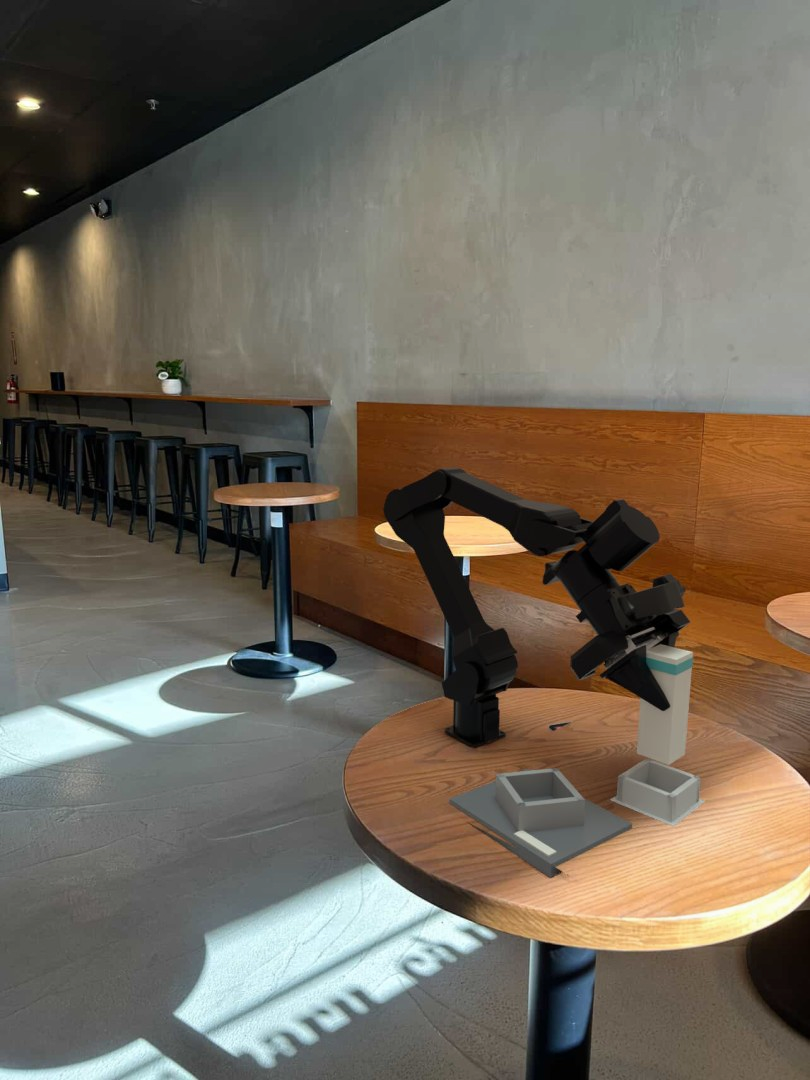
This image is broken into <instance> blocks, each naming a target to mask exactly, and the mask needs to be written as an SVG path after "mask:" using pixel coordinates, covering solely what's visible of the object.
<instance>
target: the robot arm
mask: <svg viewBox="0 0 810 1080" xmlns="http://www.w3.org/2000/svg"><path fill="white" fill-rule="evenodd" d="M453 503H455V504H456V505H459V506H461V507H462V508H464V509H466V510H468V511H471V512H472V513H473V514H474V513H475V514H476V515H478V516H481V517H483V518H484V519H486V520H488V521H490V522H493V523H494V524H497V525H499V526H501V527H502V528H504V529H505V530H507V531H508V532H509V534H510V536H511V537H512V539H513V540H514V542H516V543H517V544H518V545H520V546H521V547H522V548H524V549H525V550H526V551H527V552H529V553H531V554H532V555H534V556H537V557H545V556H550V555H554V554H559V553H564V552H566V553H565V554H563V556H561V557H560V558H559V559H558V560H557V561H556V560H554V561H549V562H545V564H544V574H543V576H542V580H541V581H542V584H543V585H544V586H548V585H551V584H554V583H559V582H560V583H561V585H562V586H563V588H564V589H565V591H566V592H567V593H568V595H569V596H570V598H571V599H572V600H573V602H574V604H575V605H576V607H577V608H578V609H579V611H580V612H578V613H577V614H576V615H575V617H576V619H577V620H578V622H579V623H581V624H582V623H584V622H588V624H589V625H590V627H591V628H592V630H593V631H594V632H595V634H596V635H595V636H594V637H593V638H591V639H590V640H589V641H588V642H586V643H585V644H584V645H583V646H582V647H580V648H579V649H578V650H576V651H575V652H574V653H573V654H572V655H570V661H569V662H570V663H569V667H570V669H571V671H572V672H573V673H574V675H575V676H576V678H577V679H578V681H582V680H585V679H587V678H589V677H592V676H593V675H594V674H595V673H596V669H597V668H599V667H600V666H601V665H602V664H603V666H604V667H605V669H606V670H604V671H603V672H602V673H600V674H599V675H598V676H599V678H600V679H602V680H603V679H606V680H609V681H610V682H612V683H614V684H616V685H617V686H619V687H621V688H623V689H625V690H627V691H629V692H630V693H632V694H634V695H636V696H637V697H638V698H639V699H640V698H642V699H643V700H645V701H647V702H648V703H650V704H652V705H653V706H655V707H656V708H658V709H660V710H661V711H665V710H667V709H668V708H670V704H669V702H668V700H667V698H666V696H665V694H664V692H663V691H662V689H661V687H660V686H659V684H658V682H657V681H656V679H655V677H654V675H653V674H652V672H651V670H650V669H649V667H648V666H647V663H646V650H648V649H650V648H653V647H655V646H657V645H660V644H662V645H666V646H670V647H674V648H676V641H677V638H679V636H680V635H679V634H680V631H682V630H683V629H684V628H685V627H687V626H688V625H689V624H691V621H690V620H689V618H688V616H687V615H686V614H685V613H684V611H683V610H682V608H685V607H686V605H685V602H684V600H683V599H684V598H683V597H684V594H685V592H686V591H687V589H686V587H685V586H684V585H682V583H680V580H679V579H676V578H675V577H674V575H673V574H672V573H667V574H665V575H661V576H658V577H655V578H653V580H652V587H649V588H646V589H643V590H638V591H637V590H636V589H635V587H634V586H633V585H631V584H629V583H625V584H622V585H621V583H620V582H619V581H618V580H617V578H616V577H615V575H614V574H613V573H612V572H611V570H614V571H617V572H624V571H625V570H626V569H627V568H628V567H631V565H632V564H633V563H634V562H635V561H637V560H638V559H639V558H640V557H642V555H644V554H645V553H647V552H648V550H649V549H651V548H652V547H653V546H655V544H658V542H659V540H660V532H659V529H658V528H657V526H656V524H655V523H654V521H653V520H652V519H651V517H649V516H646V515H645V514H644V513H643V512H642V511H640V509H637V508H635V507H634V506H631V505H629V504H628V502H627V501H626V499H624V498H622V499H620V498H619V499H615V500H613V501H612V502H611V503H610V504H608V505H607V506H606V509H605V510H604V511H603V513H601V514H600V515H599V516H598V517H597V518H596V519H595V520H594V521H593V520H590V519H586V518H583V517H581V514H580V513H579V512H577V511H576V510H575V509H573V508H572V507H570V506H569V507H568V506H564V505H561V504H555V503H551V502H543V501H535V500H529V499H525V498H523V497H521V496H519V495H516V494H514V493H512V492H510V491H508V490H505V489H502V488H500V487H499V486H496V485H494V484H492V483H490V482H487V481H485V480H483V479H480V478H478V477H476V476H474V475H471V474H469V473H468V472H466V471H465V470H464V469H462V468H460V467H447V468H444V467H443V468H438V469H436V470H434V471H432V472H431V473H429V474H427V476H425V477H423V478H421V479H418V480H416V481H413V482H412V483H409V484H408V485H405V486H404V487H402V488H394V489H392V490H391V491H389V493H388V494H387V496H386V498H385V500H384V504H383V507H382V511H383V514H384V517H385V519H386V521H387V523H388V524H389V526H390V528H391V530H392V531H393V533H394V534H395V535H396V536H397V537H398V538H399V539H400V540H401V541H403V542H404V543H405V544H406V545H407V546H409V547H410V548H411V549H412V550H413V552H414V553H415V556H416V558H417V560H418V562H419V564H420V566H421V568H422V571H423V573H424V576H425V578H426V579H427V581H428V584H429V586H430V588H431V590H432V593H433V595H434V598H435V599H436V602H437V604H438V606H439V608H440V610H441V612H442V615H443V616H444V619H445V621H446V623H447V625H448V627H449V629H450V632H451V634H452V636H453V644H452V655H451V656H452V657H451V658H452V662H453V664H454V668H455V670H454V671H453V672H452V673H451V674H450V675H448V676H447V677H446V678H445V679H444V680H443V681H442V682H441V687H442V691H443V694H444V698H446V699H449V700H452V701H453V708H452V709H453V711H452V714H453V715H452V725H451V726H447V727H445V728H444V733H446V734H447V735H449V736H451V737H453V738H455V739H456V740H459V741H461V742H462V743H464V744H466V745H468V746H470V747H474V748H475V747H478V746H481V745H484V744H487V743H490V742H493V741H496V740H499V739H502V738H505V737H506V736H507V735H506V732H505V731H503V730H501V729H500V719H501V718H500V715H501V713H500V712H501V711H500V709H499V706H500V704H499V703H500V698H499V696H498V697H497V694H500V693H503V692H506V691H507V690H508V688H509V686H510V682H512V681H513V680H514V678H515V677H516V675H517V669H518V668H519V663H518V659H517V657H516V655H517V654H518V651H517V649H516V648H514V646H513V645H512V643H511V641H510V637H509V634H508V632H507V631H506V629H505V628H504V627H501V628H497V629H494V628H493V627H492V626H490V625H489V624H488V623H487V622H486V621H485V619H484V617H483V615H482V613H481V611H480V609H479V607H478V605H477V603H476V600H475V598H474V596H473V594H472V592H471V590H470V588H469V586H468V583H467V581H466V579H465V577H464V575H463V573H462V570H461V569H460V566H459V564H458V562H457V560H456V557H455V556H454V554H453V552H452V550H451V547H450V546H449V543H448V541H447V539H446V537H445V526H446V524H445V523H446V514H445V512H444V510H445V509H446V508H448V507H450V506H451V505H452V504H453ZM583 543H584V545H582V547H580V548H579V549H578V550H575V549H576V548H577V546H578V545H579V544H583ZM680 608H681V609H680Z"/></svg>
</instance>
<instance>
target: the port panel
mask: <svg viewBox="0 0 810 1080" xmlns="http://www.w3.org/2000/svg"><path fill="white" fill-rule="evenodd" d="M448 803H449V804H450V805H452V806H453V807H455V808H456V809H458V810H460V811H461V812H462V813H464V814H465V815H467V816H469V817H470V818H471V819H473V820H475V821H476V822H477V823H479V824H481V825H482V826H484V827H485V828H487V829H488V830H490V831H491V832H493V833H495V834H496V835H498V836H499V837H501V838H502V839H501V838H499V837H497V836H495V835H493V834H491V833H489V832H487V831H485V830H483V829H482V828H480V827H477V826H476V825H473V824H472V823H470V822H468V821H466V823H467V824H469V825H470V826H471V827H474V828H475V829H476V830H478V831H479V832H480V833H482V834H483V835H485V836H487V837H489V838H490V839H492V840H493V841H494V842H496V843H497V844H499V845H501V846H502V847H504V848H505V849H507V850H508V851H509V852H510V853H513V854H514V855H516V856H517V857H518V858H520V859H522V860H524V861H525V862H526V863H528V864H529V865H530V866H532V867H534V868H535V869H537V870H538V871H539V872H541V873H543V874H544V875H545V876H547V877H548V878H552V877H554V876H557V875H559V874H560V873H563V870H562V869H559V868H557V866H560V865H562V864H565V863H566V862H567V861H570V860H572V859H574V858H575V857H578V856H579V855H581V854H584V853H586V852H587V851H590V850H592V849H594V848H596V847H598V846H600V845H601V844H604V843H606V842H607V841H609V840H612V839H613V838H615V837H618V836H619V835H621V834H624V833H625V832H627V831H629V830H631V829H633V823H631V822H629V821H628V820H626V819H624V818H622V817H620V816H618V815H616V813H613V812H611V811H609V810H607V809H605V808H604V807H602V806H599V805H597V804H595V803H594V802H592V801H590V800H589V799H586V798H585V797H583V795H581V793H580V792H579V791H578V790H577V788H575V787H574V785H573V784H571V782H570V781H569V780H568V779H567V778H566V776H564V774H563V773H562V772H561V771H560V770H559V769H558V767H553V768H545V769H544V768H543V769H533V770H532V769H529V768H525V769H523V770H521V771H512V772H504V773H502V772H501V773H496V775H495V781H491V782H489V783H487V784H484V785H481V786H479V787H477V788H473V789H471V790H469V791H466V792H463V793H461V794H457V795H455V796H453V797H450V798H449V800H448ZM503 839H504V840H503Z"/></svg>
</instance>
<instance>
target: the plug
mask: <svg viewBox="0 0 810 1080" xmlns="http://www.w3.org/2000/svg"><path fill="white" fill-rule="evenodd" d="M646 663H647V666H648V667H649V669H650V670H651V672H652V674H653V675H654V677H655V679H656V681H657V682H658V684H659V686H660V687H661V689H662V691H663V692H664V694H665V696H666V698H667V700H668V702H669V704H670V708H668V709H667V710H665V711H661V710H660V709H658V708H656V707H655V706H653V705H652V704H650V703H648V702H647V701H645V700H643V699H642V698H640V697H639V711H638V712H639V714H638V726H637V727H638V729H637V731H638V732H637V743H636V755H639V756H642V757H646V758H648V759H651V760H654V761H656V762H659V763H662V764H665V765H667V766H670V765H672V764H673V763H674V762H676V761H677V760H679V759H681V758H682V757H683V756H684V755H686V746H687V735H688V734H687V732H688V722H689V721H688V720H689V707H690V696H691V695H690V694H691V683H692V672H693V671H692V668H693V666H694V652H693V651H690V650H686V649H682V648H678V647H670V646H666V645H662V644H660V645H657V646H655V647H653V648H650V649H648V650H646Z"/></svg>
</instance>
